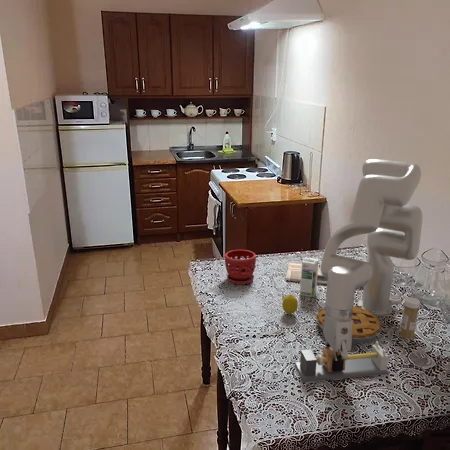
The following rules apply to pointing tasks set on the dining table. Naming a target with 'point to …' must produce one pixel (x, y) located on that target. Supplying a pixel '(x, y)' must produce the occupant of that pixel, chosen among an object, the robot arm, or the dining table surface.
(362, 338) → the pie
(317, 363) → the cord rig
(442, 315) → the dining table surface
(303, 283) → the syrup box
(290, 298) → the lemon
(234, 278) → the plant pot
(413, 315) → the sprinkles bottle
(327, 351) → the sleeve
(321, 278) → the newspaper
